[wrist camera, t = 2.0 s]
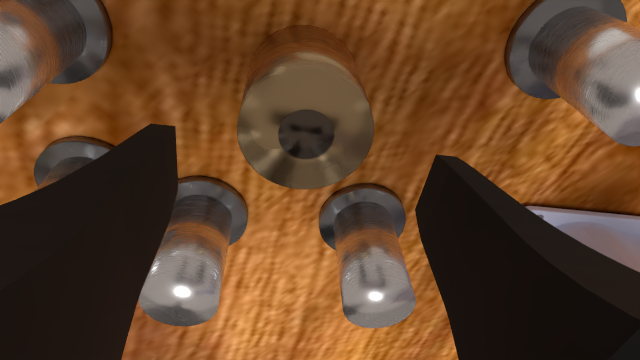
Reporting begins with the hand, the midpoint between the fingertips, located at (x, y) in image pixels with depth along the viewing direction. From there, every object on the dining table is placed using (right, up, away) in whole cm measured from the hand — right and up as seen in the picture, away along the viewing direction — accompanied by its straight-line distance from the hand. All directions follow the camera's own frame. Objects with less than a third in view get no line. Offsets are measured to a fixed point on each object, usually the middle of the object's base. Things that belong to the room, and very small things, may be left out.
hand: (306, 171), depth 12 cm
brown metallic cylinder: (0, +4, +5) cm, 7 cm away
